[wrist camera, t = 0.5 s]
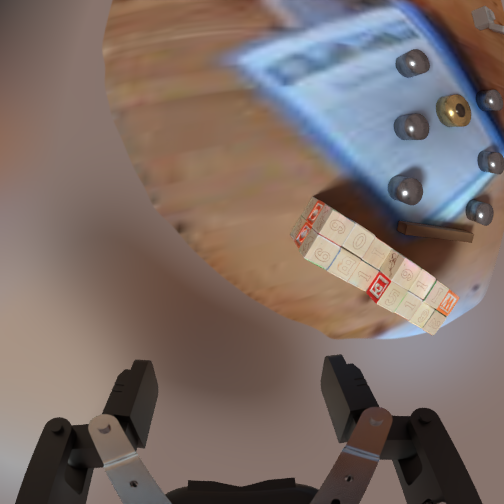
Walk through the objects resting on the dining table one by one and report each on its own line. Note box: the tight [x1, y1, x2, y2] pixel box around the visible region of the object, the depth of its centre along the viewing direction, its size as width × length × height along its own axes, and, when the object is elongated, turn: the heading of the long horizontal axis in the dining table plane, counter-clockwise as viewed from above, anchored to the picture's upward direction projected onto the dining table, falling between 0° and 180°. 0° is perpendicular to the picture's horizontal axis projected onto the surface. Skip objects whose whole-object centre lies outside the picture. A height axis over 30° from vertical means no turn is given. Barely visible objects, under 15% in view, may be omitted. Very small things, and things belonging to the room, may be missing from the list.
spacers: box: [388, 49, 504, 226], centre depth 35 cm, size 24×22×4 cm
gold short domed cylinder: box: [436, 95, 471, 127], centre depth 33 cm, size 5×5×4 cm
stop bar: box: [397, 221, 474, 243], centre depth 40 cm, size 2×15×2 cm, turn 85°
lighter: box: [472, 6, 504, 35], centre depth 25 cm, size 7×2×8 cm, turn 179°
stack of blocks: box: [290, 197, 459, 335], centre depth 35 cm, size 21×6×12 cm, turn 60°
